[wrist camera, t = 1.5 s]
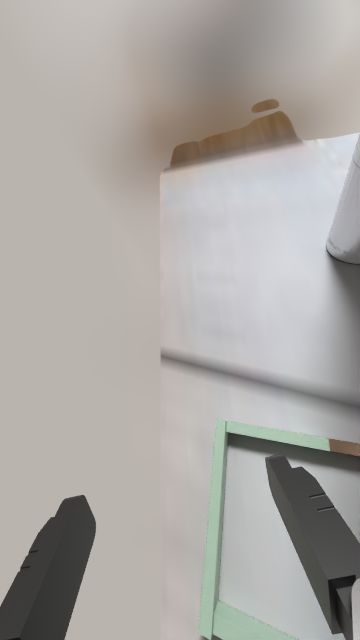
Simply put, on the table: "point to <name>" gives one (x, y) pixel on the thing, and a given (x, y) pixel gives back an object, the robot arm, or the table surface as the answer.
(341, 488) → the table surface
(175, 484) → the table surface
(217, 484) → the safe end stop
